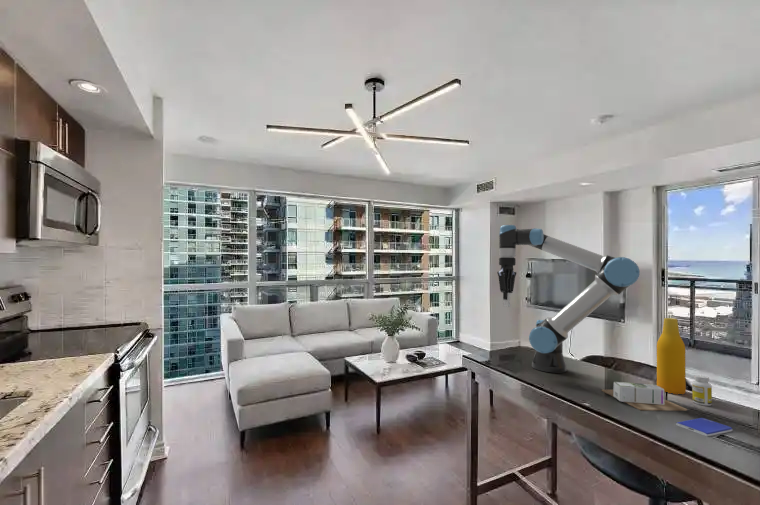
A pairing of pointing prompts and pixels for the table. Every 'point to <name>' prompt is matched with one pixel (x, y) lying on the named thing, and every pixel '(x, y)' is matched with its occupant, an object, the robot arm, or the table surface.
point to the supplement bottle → (702, 391)
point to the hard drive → (704, 426)
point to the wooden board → (652, 405)
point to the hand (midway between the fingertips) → (506, 306)
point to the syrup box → (639, 393)
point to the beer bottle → (671, 359)
